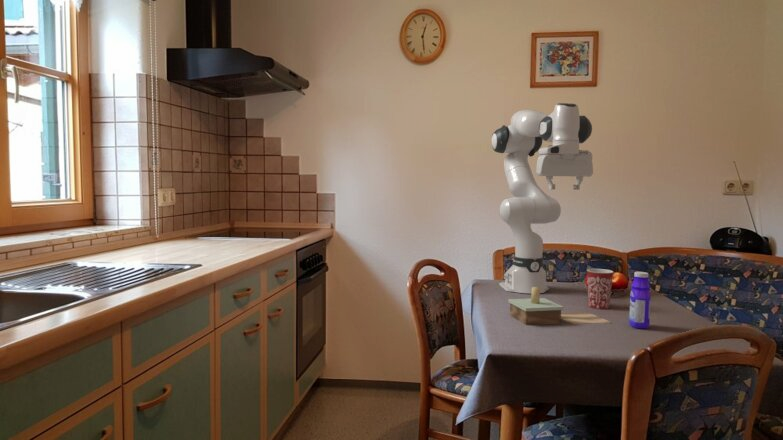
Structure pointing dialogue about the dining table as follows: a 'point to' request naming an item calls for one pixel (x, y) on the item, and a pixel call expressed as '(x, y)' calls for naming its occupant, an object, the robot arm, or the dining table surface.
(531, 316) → the box
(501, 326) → the dining table surface
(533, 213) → the robot arm
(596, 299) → the mug
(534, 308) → the lid
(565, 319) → the mat
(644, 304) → the bottle
